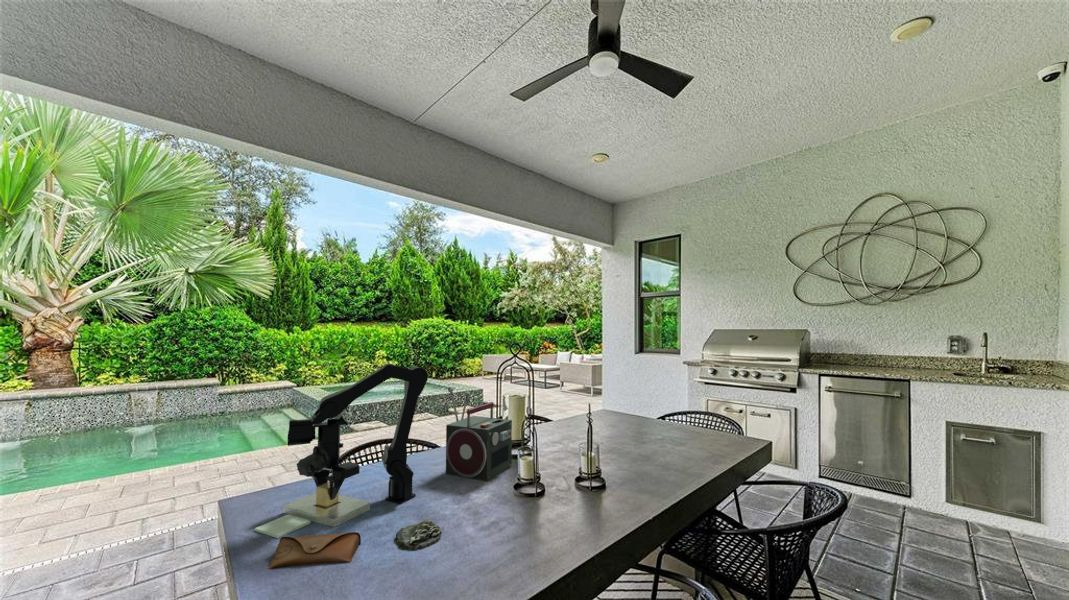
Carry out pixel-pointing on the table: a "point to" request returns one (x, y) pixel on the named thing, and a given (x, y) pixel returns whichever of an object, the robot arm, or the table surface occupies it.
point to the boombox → (478, 444)
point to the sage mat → (282, 526)
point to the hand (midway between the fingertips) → (327, 498)
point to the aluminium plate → (327, 510)
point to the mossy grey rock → (418, 536)
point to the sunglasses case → (315, 549)
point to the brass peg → (325, 496)
